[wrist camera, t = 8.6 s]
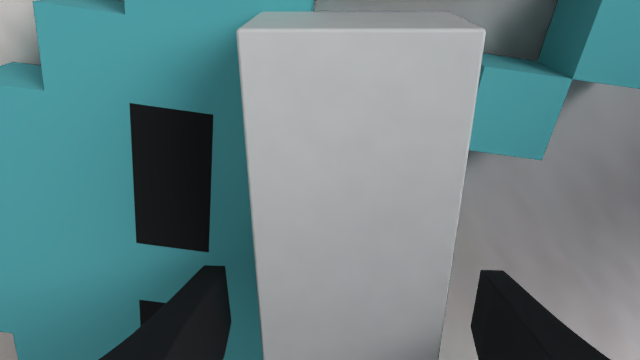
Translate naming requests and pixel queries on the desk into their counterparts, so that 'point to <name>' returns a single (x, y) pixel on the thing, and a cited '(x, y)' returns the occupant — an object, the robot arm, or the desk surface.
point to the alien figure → (193, 156)
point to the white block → (356, 176)
